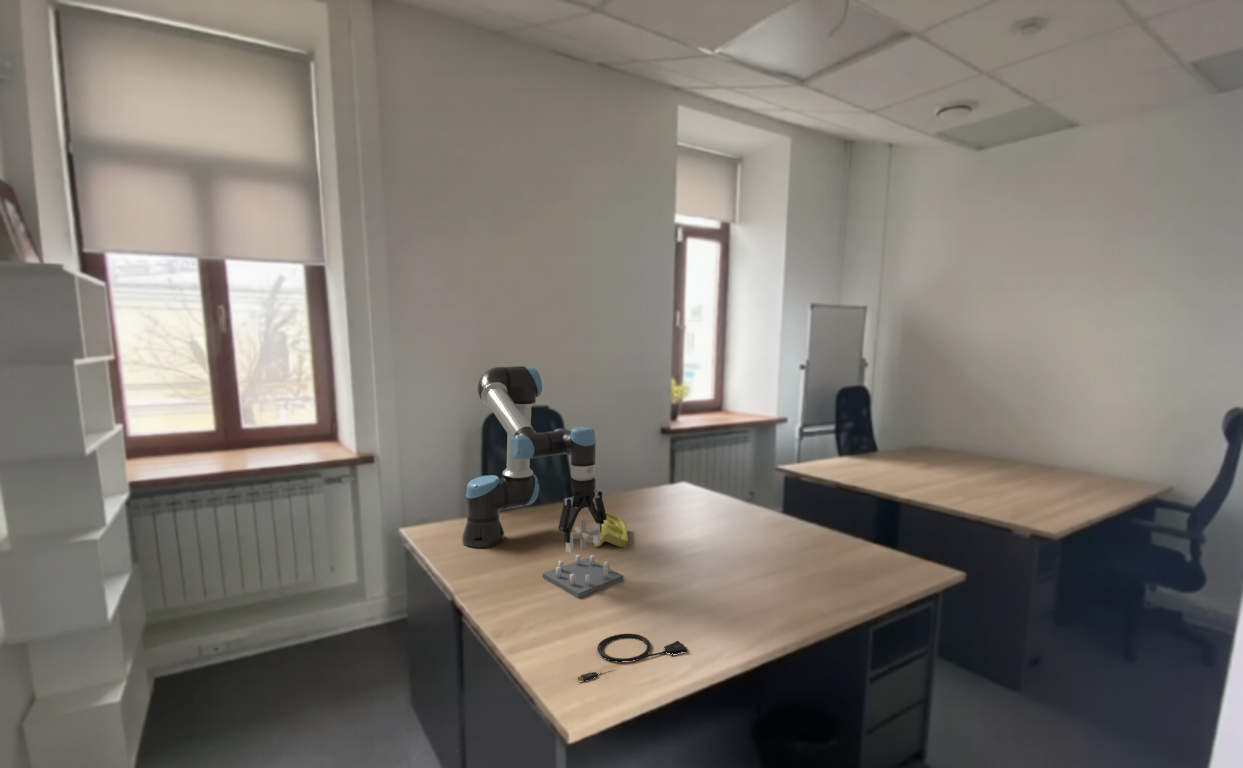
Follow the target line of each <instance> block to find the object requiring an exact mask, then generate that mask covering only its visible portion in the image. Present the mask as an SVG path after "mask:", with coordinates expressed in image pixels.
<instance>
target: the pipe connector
mask: <svg viewBox="0 0 1243 768" xmlns="http://www.w3.org/2000/svg"><path fill="white" fill-rule="evenodd" d="M579 525H580V526H575V527H574V532H573V540H577V539H578V540H579V539H580V540H579V541H580V542H579V543H580V551H581V552H586V551H587V543H592V542H593V536H595V535H599V530H598V529H595V530H593V529H590V530H587V518H586V517H581V518H580V524H579Z"/></svg>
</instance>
